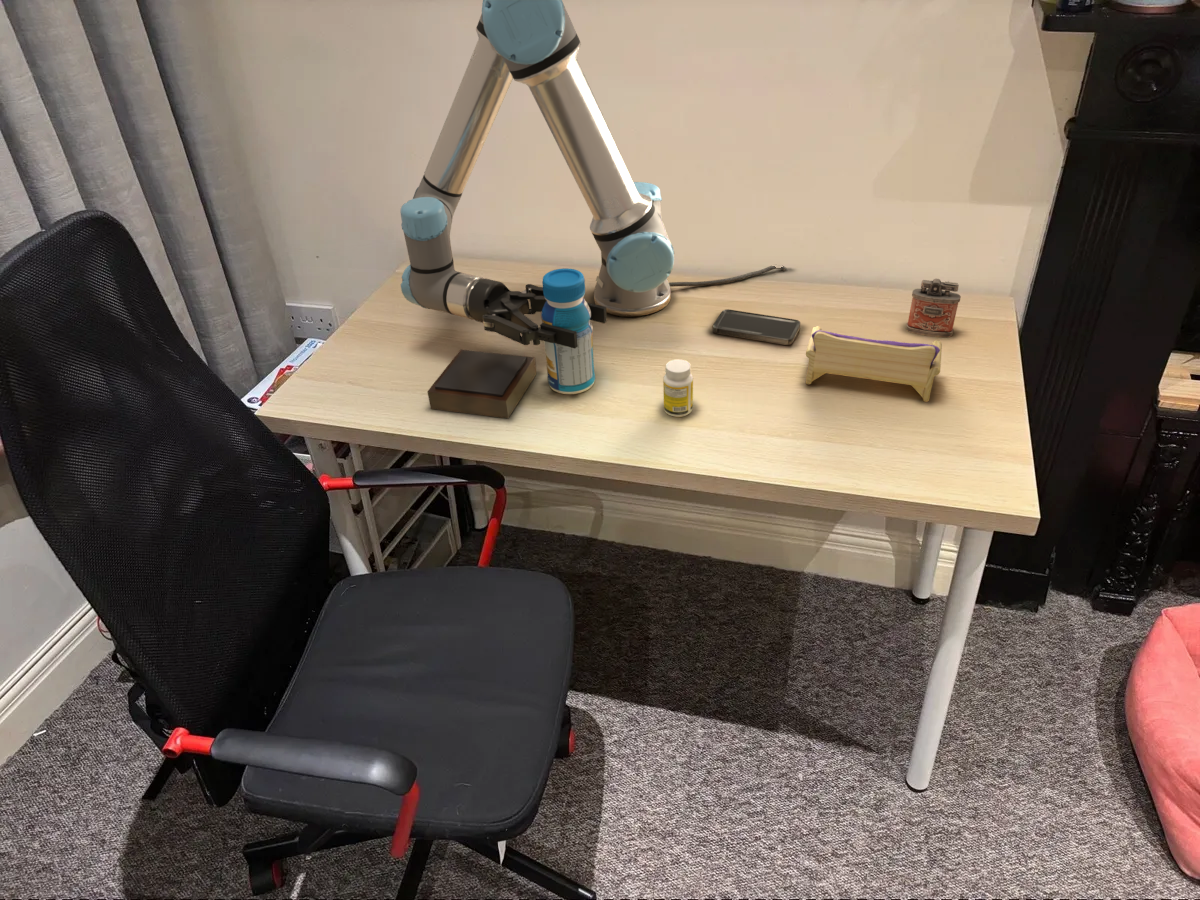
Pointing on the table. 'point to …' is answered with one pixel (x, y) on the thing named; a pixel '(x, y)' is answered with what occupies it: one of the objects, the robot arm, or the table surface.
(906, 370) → the toy sofa
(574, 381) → the beverage bottle
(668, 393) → the supplement bottle
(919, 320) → the lighter
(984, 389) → the table surface
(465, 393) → the walnut stand
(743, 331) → the phone
